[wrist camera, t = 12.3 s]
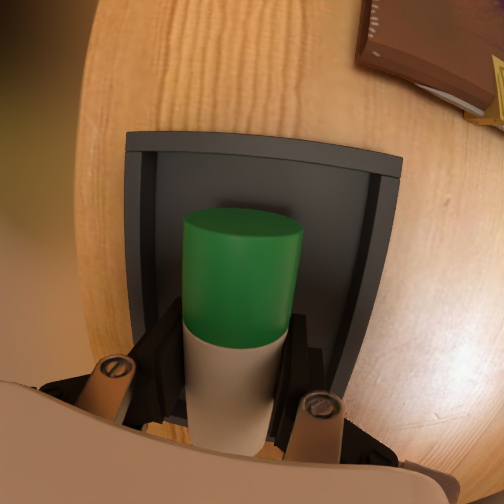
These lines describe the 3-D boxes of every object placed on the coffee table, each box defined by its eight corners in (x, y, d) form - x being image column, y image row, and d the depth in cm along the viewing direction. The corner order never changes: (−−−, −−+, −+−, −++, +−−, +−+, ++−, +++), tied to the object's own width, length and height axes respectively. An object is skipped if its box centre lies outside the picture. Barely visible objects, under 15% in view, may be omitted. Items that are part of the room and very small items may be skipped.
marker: (276, 421, 13) (246, 474, 10) (212, 397, 14) (174, 441, 11) (315, 219, 10) (281, 246, 7) (221, 203, 11) (157, 220, 8)
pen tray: (320, 421, 17) (322, 446, 15) (157, 394, 18) (146, 416, 16) (386, 156, 12) (403, 157, 10) (148, 133, 13) (125, 131, 11)
